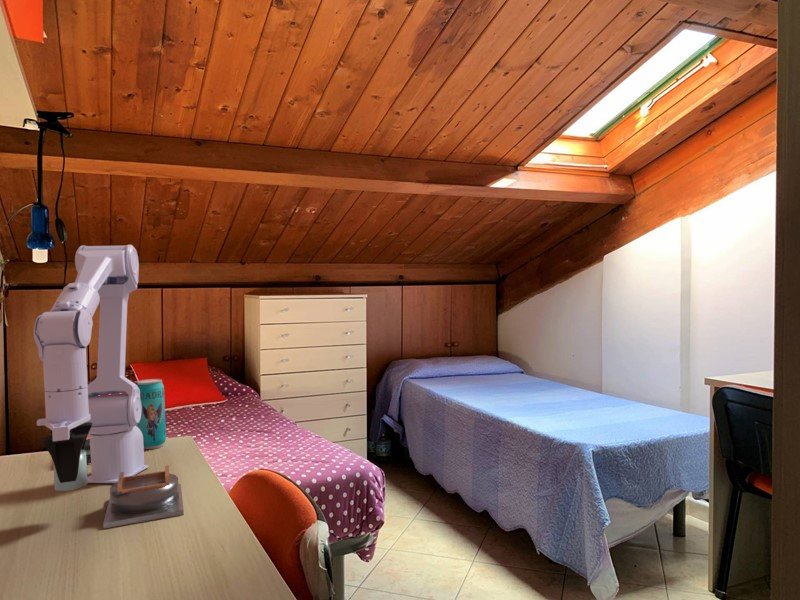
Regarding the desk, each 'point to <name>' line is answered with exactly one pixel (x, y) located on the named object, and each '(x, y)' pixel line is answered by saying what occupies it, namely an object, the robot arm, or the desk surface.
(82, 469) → the cylinder
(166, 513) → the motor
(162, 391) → the beverage can
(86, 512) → the desk surface
